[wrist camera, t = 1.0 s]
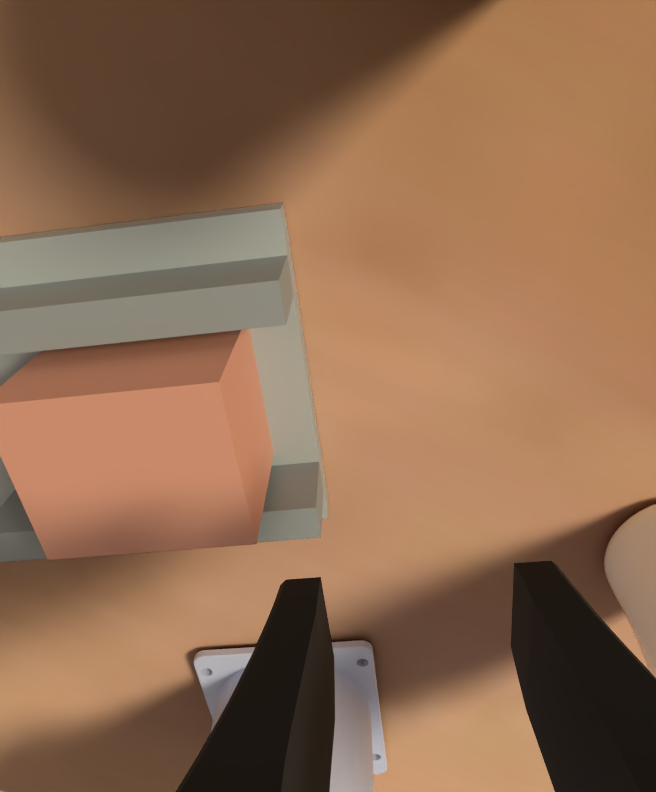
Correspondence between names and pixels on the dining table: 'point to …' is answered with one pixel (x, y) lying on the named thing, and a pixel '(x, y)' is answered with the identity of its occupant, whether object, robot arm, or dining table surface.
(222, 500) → the block
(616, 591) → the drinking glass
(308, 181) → the dining table surface
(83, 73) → the dining table surface
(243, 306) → the chute
